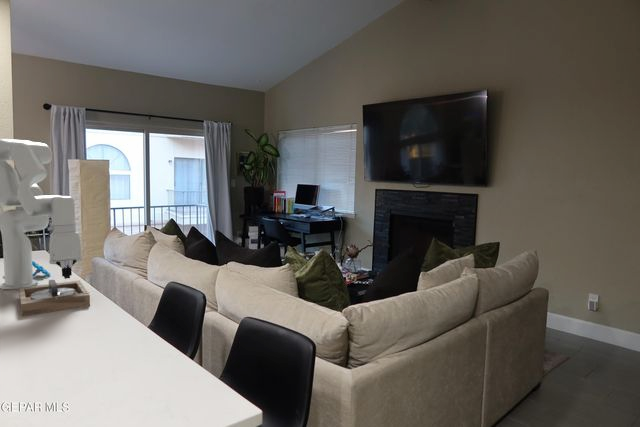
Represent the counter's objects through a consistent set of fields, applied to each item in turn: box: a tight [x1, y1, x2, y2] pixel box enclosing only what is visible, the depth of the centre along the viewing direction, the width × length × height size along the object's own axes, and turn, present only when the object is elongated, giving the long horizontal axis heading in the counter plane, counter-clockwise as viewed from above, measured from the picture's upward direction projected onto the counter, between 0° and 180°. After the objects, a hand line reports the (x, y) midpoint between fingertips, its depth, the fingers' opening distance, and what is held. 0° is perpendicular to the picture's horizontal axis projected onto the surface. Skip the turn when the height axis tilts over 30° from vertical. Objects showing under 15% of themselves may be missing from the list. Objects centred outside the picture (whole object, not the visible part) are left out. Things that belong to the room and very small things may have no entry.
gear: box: [32, 260, 51, 278], centre depth 195 cm, size 11×6×10 cm
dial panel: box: [18, 280, 91, 317], centre depth 159 cm, size 24×20×4 cm
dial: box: [30, 279, 76, 300], centre depth 159 cm, size 14×14×5 cm
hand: (67, 277), depth 164 cm, fingers closed
